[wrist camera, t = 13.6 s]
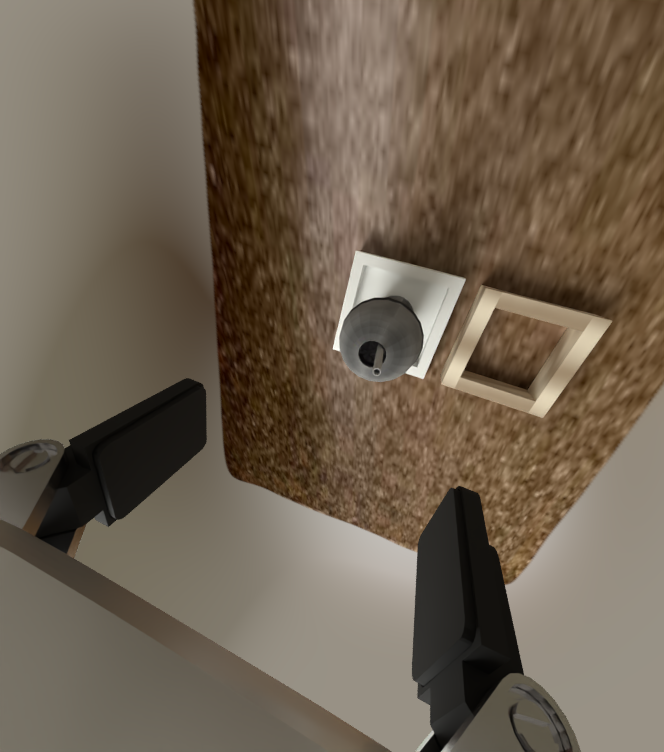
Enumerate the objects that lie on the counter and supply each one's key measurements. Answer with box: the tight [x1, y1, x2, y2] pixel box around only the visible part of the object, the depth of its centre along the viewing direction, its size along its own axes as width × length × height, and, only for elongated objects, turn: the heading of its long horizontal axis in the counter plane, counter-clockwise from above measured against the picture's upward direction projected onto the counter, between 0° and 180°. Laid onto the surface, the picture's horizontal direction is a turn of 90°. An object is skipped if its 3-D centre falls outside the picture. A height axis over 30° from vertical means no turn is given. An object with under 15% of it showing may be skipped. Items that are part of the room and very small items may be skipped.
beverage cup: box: [339, 296, 424, 382], centre depth 25 cm, size 7×7×20 cm
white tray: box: [333, 251, 466, 379], centre depth 34 cm, size 12×12×2 cm
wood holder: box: [440, 285, 612, 418], centre depth 31 cm, size 12×12×3 cm
